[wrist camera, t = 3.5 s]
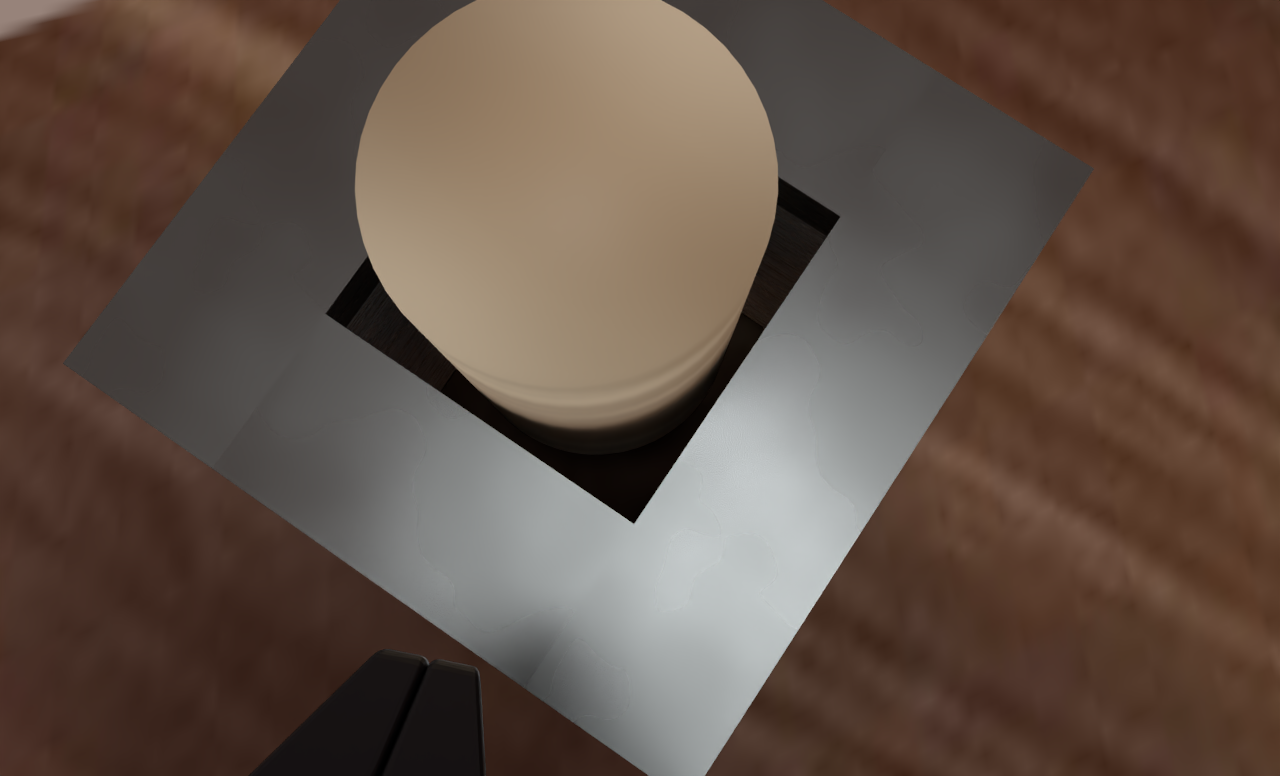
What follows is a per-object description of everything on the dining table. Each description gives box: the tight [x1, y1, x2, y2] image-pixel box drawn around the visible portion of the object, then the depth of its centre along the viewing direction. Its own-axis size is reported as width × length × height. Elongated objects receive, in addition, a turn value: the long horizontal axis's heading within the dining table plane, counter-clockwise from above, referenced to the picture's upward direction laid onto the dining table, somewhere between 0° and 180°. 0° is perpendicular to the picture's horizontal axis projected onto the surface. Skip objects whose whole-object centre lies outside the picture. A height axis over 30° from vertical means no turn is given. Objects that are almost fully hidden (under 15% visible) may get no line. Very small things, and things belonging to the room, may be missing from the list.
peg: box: [355, 0, 778, 455], centre depth 15 cm, size 4×4×8 cm
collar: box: [63, 0, 1094, 776], centre depth 19 cm, size 10×10×8 cm
